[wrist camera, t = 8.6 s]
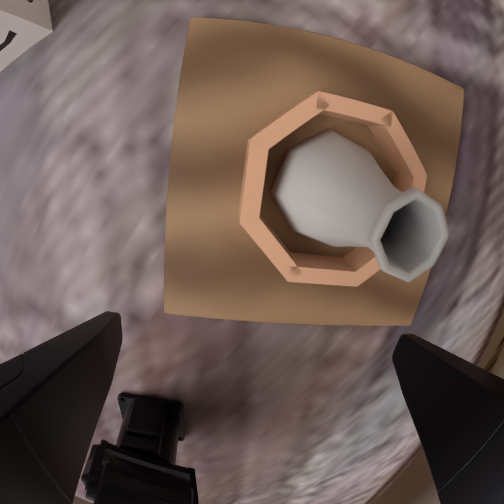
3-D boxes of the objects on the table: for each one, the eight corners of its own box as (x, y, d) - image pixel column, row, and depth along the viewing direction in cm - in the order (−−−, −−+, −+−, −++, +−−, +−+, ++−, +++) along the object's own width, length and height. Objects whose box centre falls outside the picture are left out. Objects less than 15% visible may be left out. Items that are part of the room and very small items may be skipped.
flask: (326, 108, 17) (416, 85, 8) (398, 186, 19) (503, 230, 10) (248, 193, 18) (266, 251, 9) (328, 263, 21) (393, 355, 11)
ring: (383, 274, 21) (398, 289, 19) (232, 261, 20) (233, 277, 18) (415, 125, 17) (434, 125, 15) (254, 87, 16) (258, 80, 14)
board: (404, 318, 24) (410, 325, 23) (167, 304, 22) (164, 313, 21) (454, 90, 17) (464, 89, 16) (193, 23, 15) (190, 17, 14)
